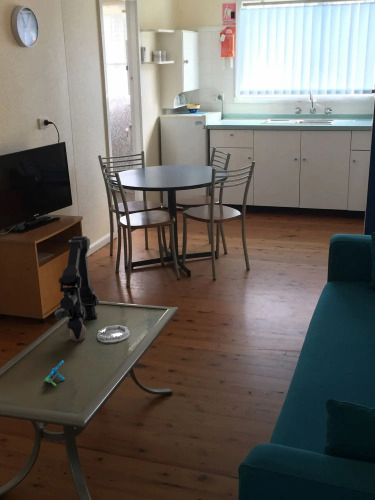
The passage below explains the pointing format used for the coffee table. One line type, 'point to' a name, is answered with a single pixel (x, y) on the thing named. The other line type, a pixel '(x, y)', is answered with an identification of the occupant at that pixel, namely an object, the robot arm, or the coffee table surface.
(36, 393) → the coffee table surface
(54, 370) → the blue green rod structure
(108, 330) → the rosette plate
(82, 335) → the vase
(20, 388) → the coffee table surface
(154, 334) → the coffee table surface
